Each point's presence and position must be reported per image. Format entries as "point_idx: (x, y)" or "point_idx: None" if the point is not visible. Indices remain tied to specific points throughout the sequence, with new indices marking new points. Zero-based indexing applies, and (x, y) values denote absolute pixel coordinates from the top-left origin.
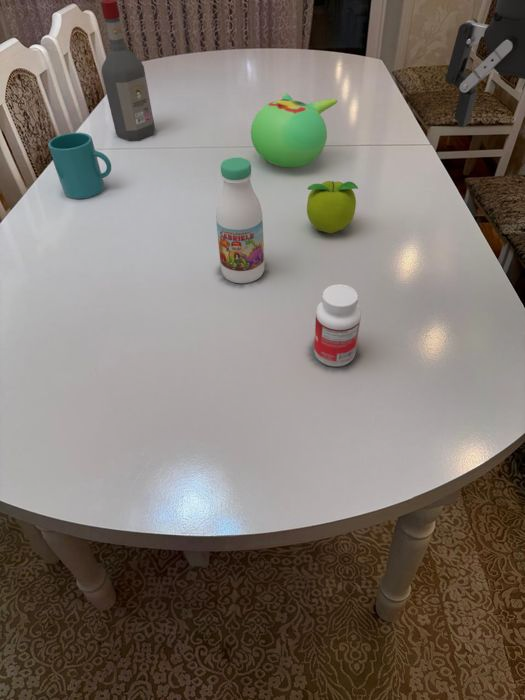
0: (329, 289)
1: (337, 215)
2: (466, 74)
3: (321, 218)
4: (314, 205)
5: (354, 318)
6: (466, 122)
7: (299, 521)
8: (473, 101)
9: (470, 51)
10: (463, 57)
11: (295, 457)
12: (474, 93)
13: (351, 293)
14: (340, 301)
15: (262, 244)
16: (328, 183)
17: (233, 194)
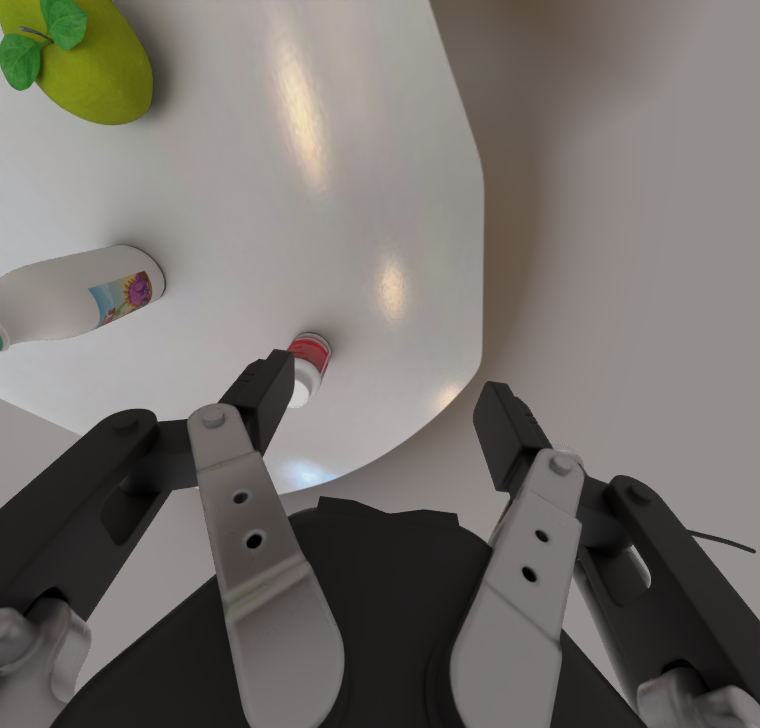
0: None
1: (129, 108)
2: (177, 464)
3: (112, 123)
4: (72, 113)
5: (316, 387)
6: (291, 377)
7: (363, 465)
8: (272, 398)
9: (68, 524)
10: (111, 564)
11: (340, 438)
12: (261, 427)
13: (298, 387)
14: (296, 401)
15: (125, 281)
16: (10, 10)
17: (26, 341)
